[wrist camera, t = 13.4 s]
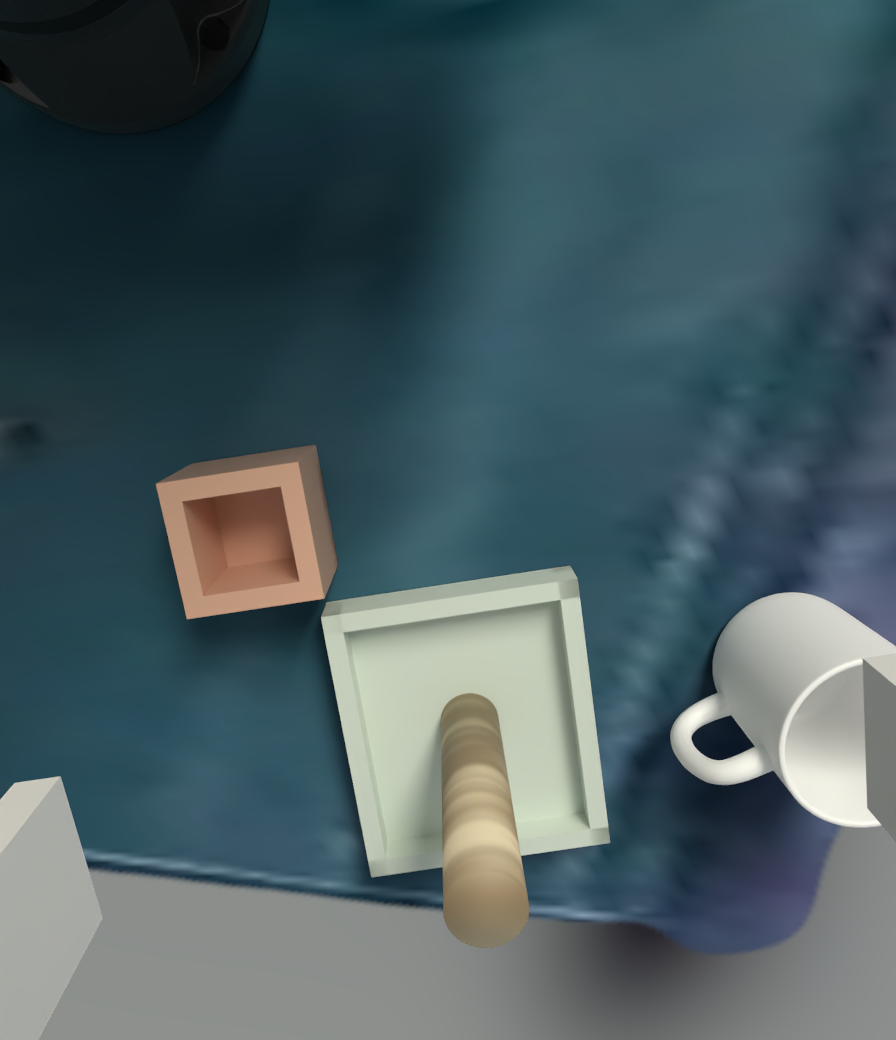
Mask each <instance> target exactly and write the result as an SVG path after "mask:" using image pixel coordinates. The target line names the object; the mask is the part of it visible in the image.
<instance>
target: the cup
mask: <svg viewBox="0 0 896 1040" xmlns="http://www.w3.org/2000/svg"><path fill="white" fill-rule="evenodd" d="M894 653H896V646H894V645H893V644H892V643H890V642H889V641H887V640H886V639H884V638H883V637H881V636H880V635H879V634H877V633H876V632H874V631H873V630H871V629H870V628H868V627H867V626H865V625H864V624H863V623H861V622H860V621H858V620H857V619H855V618H854V617H852V616H851V615H849V614H848V613H847V612H845V611H844V610H842V609H841V608H839V607H837V606H836V605H834V604H832V603H831V602H829V601H827V600H824V599H822V598H819V597H816V596H813V595H810V594H805V593H794V592H790V593H780V594H774V595H770V596H767V597H764V598H761V599H759V600H757V601H755V602H753V603H751V604H749V605H748V606H746V607H745V608H743V609H742V610H741V611H739V612H738V613H737V614H736V615H735V616H734V617H733V618H732V619H731V620H730V621H729V623H728V624H727V625H726V627H725V628H724V630H723V631H722V633H721V635H720V637H719V639H718V641H717V644H716V647H715V651H714V656H713V679H714V684H715V687H716V690H717V693H716V694H713V695H711V696H709V697H707V698H705V699H703V700H701V701H699V702H697V703H695V704H693V705H692V706H690V707H689V708H687V709H686V710H685V711H684V712H682V713H681V714H680V715H679V716H678V718H677V719H676V720H675V722H674V724H673V726H672V729H671V734H670V739H671V745H672V749H673V751H674V753H675V755H676V757H677V758H678V760H679V761H680V762H681V764H682V765H683V766H684V767H685V768H686V769H687V770H688V771H689V772H690V773H692V774H693V775H695V776H696V777H698V778H699V779H701V780H703V781H706V782H708V783H712V784H717V785H731V784H737V783H741V782H745V781H748V780H751V779H754V778H756V777H759V776H761V775H764V774H766V773H768V772H771V771H774V772H775V773H776V774H777V776H778V777H779V778H780V780H781V781H782V782H783V784H784V785H785V786H786V787H787V789H788V790H789V791H790V793H791V794H792V795H793V797H794V798H795V799H796V800H797V801H798V802H799V804H800V805H802V806H803V807H804V808H805V809H806V810H808V811H809V812H810V813H812V814H813V815H815V816H817V817H819V818H821V819H823V820H825V821H827V822H830V823H834V824H837V825H842V826H847V827H859V828H860V827H861V828H863V827H876V826H882V825H881V824H880V823H879V821H878V820H877V819H876V818H875V817H874V816H873V814H872V813H871V812H870V811H869V810H868V808H867V786H866V755H865V723H864V692H863V660H862V658H867V657H874V656H881V655H887V654H894ZM730 715H731V716H732V717H733V718H734V720H735V721H736V722H737V724H738V725H739V726H740V728H741V729H742V730H743V732H744V733H745V734H746V735H747V737H748V738H749V739H750V741H751V742H752V743H753V745H754V746H755V747H753V748H751V749H749V750H747V751H745V752H743V753H740V754H738V755H736V756H733V757H731V758H728V759H724V760H713V759H710V758H708V757H706V756H704V755H703V754H701V753H700V752H699V751H698V750H697V749H696V748H695V746H694V745H693V743H692V740H691V737H692V735H693V733H694V732H695V731H696V730H697V729H698V728H700V727H701V726H703V725H705V724H707V723H709V722H712V721H714V720H717V719H720V718H723V717H726V716H730Z"/></svg>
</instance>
